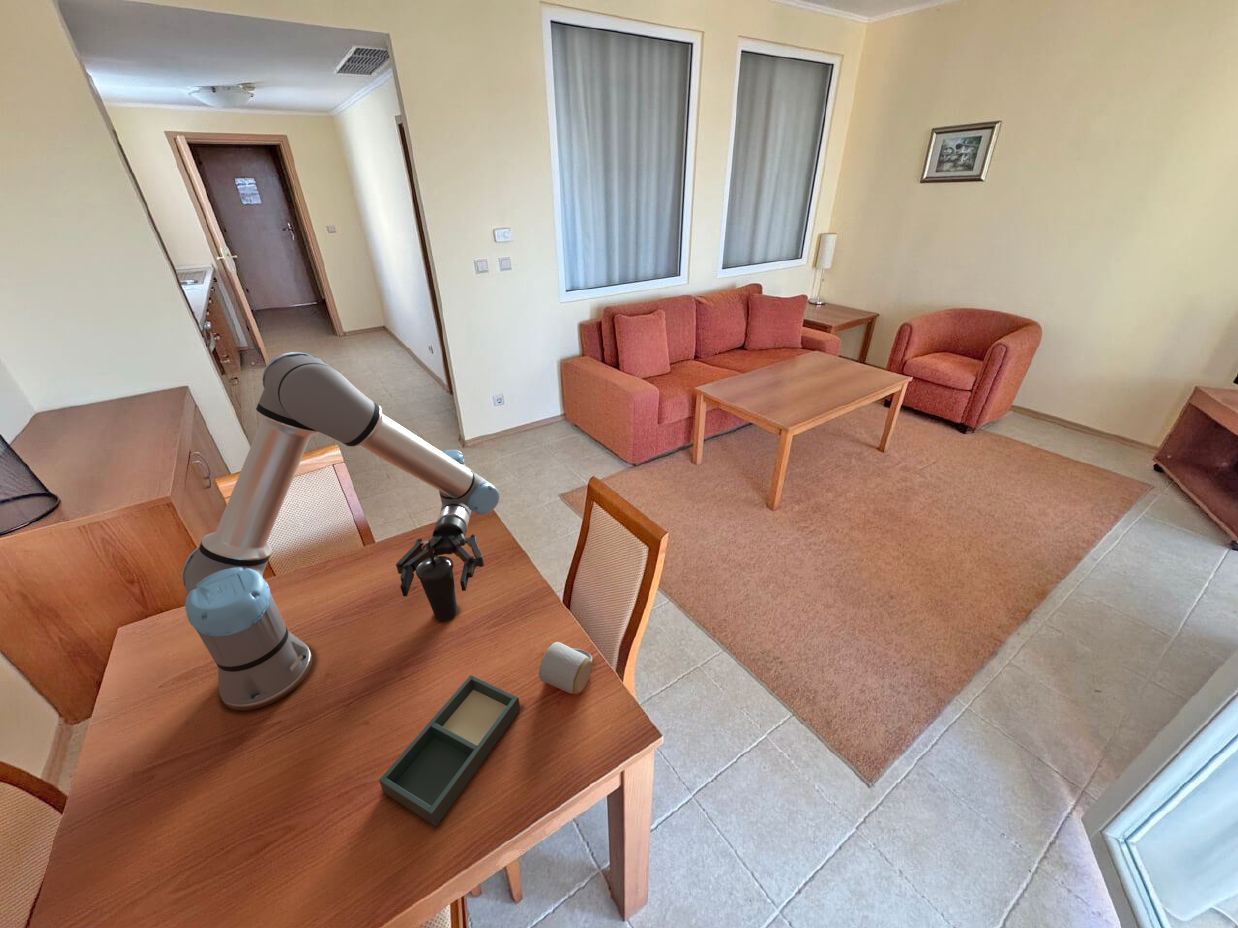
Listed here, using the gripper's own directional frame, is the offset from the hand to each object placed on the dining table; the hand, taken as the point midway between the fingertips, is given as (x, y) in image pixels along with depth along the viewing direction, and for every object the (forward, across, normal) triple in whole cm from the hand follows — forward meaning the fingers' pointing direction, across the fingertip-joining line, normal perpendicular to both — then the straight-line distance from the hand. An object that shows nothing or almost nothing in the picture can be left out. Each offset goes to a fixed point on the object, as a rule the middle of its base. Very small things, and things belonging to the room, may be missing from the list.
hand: (433, 588), depth 104 cm
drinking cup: (-4, 0, -11) cm, 12 cm away
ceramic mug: (+16, -27, -11) cm, 34 cm away
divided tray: (+29, -8, -11) cm, 32 cm away
